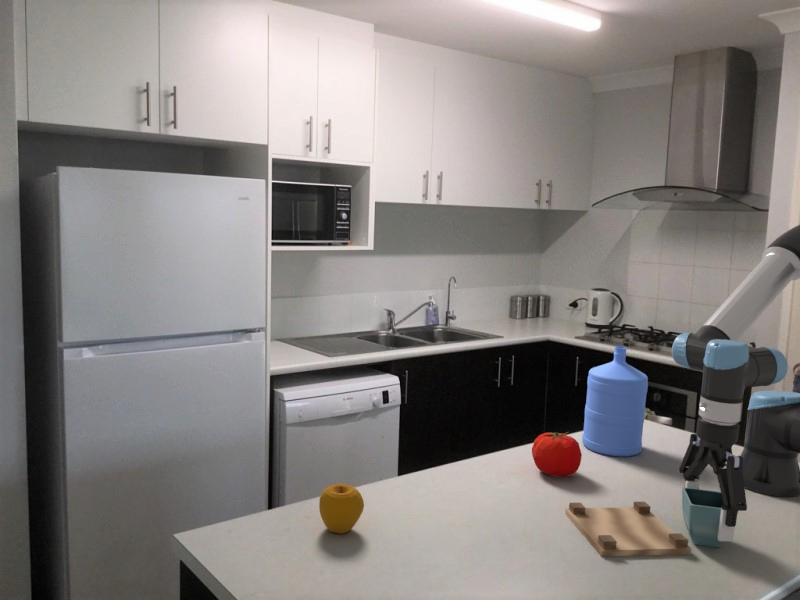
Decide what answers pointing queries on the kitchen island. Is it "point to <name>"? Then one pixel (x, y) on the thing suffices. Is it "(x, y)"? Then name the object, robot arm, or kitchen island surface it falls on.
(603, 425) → the water jug
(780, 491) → the robot arm
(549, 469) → the tomato
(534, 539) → the kitchen island surface
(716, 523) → the flower pot
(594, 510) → the trivet
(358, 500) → the apple
